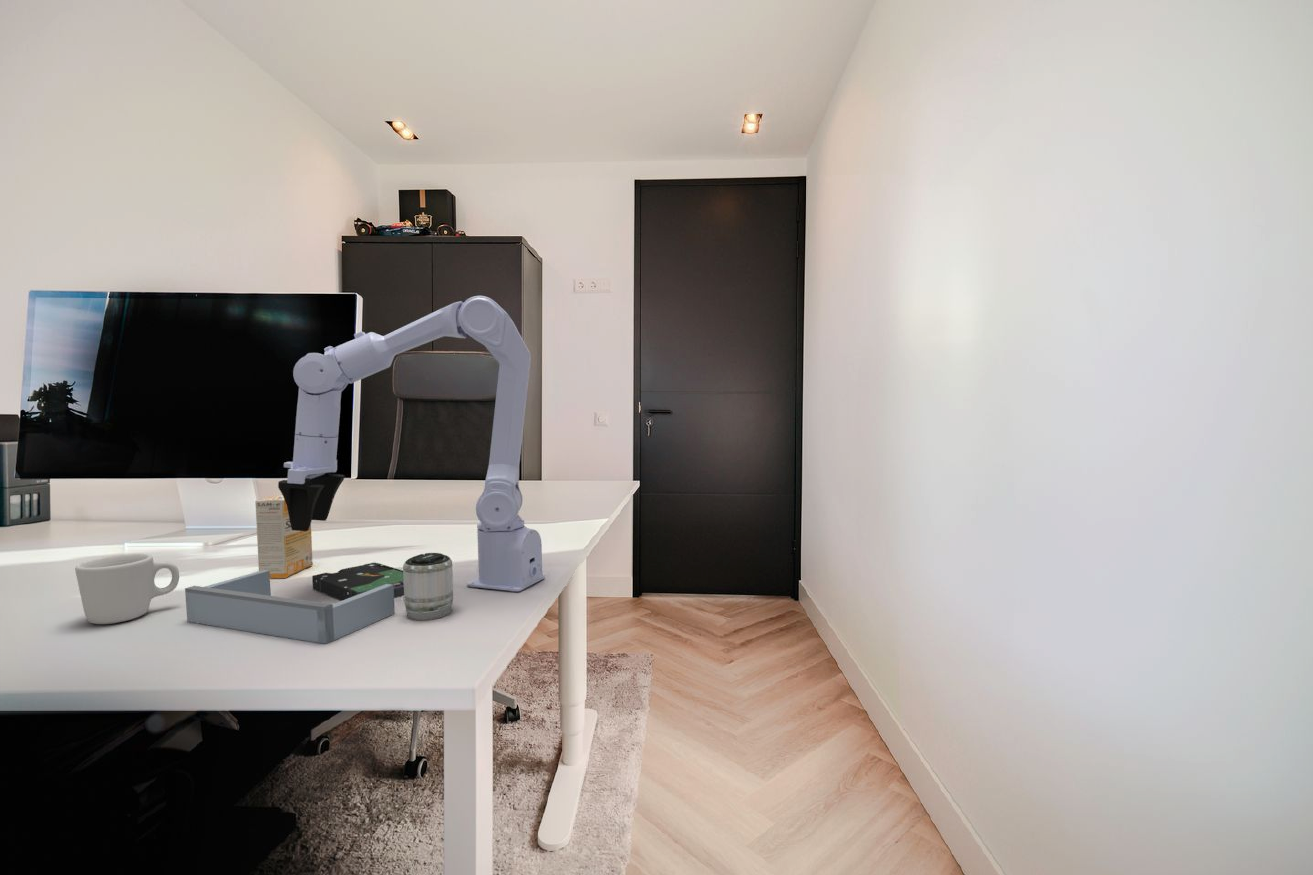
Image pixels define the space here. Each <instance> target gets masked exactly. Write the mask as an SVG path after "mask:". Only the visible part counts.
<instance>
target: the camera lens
mask: <svg viewBox="0 0 1313 875" xmlns="http://www.w3.org/2000/svg"><path fill="white" fill-rule="evenodd" d="M402 571H403V579H404V597H403V599H404V601H403V602H404V607H405V611H406V613H407V617H408V618H409V619H411V620H416V621H428V620H435V619H439V618H443V617H445V616H447V615H449V614H450V613H451V612H452V606H453V604H454V603H453V602H454V601H453V600H454V584H453V583H454V581H453V580H454V578H453V575H454V574H453V560H452V559H451V558H450V556H449V555H446V554H443V553H440V552H425V553H420V554H418V555H415V556H412V557H410V558H408V559H406V561H404V563H403V565H402Z"/></svg>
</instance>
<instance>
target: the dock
mask: <svg viewBox="0 0 1313 875" xmlns="http://www.w3.org/2000/svg"><path fill="white" fill-rule="evenodd" d="M184 591H185V592H184V594H185V608H186V609H185V610H186V622H187V621H191V622H190V623H193V622H196V623H195V624H199V623H202V624H201V625H205V624H206V626H207V625H208V626H214V627H218V628H225V629H231V630H237V631H243V632H250V633H256V634H262V635H268V636H275V637H280V638H286V639H287V638H288V639H293V640H297V641H299V640H300V641H304V642H305V641H306V642H311V643H317V644H322V645H328V644H329V643H332V642H334V641H336V640H338V639H340V638H344V637H346V636H348V635H349V634H352V633H354V632H357V631H359V630H361V629H363V628H366V627H368V626H369V625H373V624H374V623H377V622H379V621H381V620H384V619H387V618H388V617H390V616H392V615H395V612H396V610H395V608H396V607H395V598H394V585H392V584H385V585H382V586H380V587H377V588H374V589H372V590H369V591H366V592H364V593H361V594H358V595H356V596H353V597H351V598H348V599H345V600H343V601H341V600H339V601H337V602H335V603H328V602H320V601H313V600H305V599H298V598H289V597H283V596H282V597H281V596H276V595H275V596H273V595H272V592H271V591H272V590H271V578H270V571H268V570H262V571H259V570H258V571H255V572H252V573H248V574H244V575H241V576H238V577H234V578H230V579H225V580H224V581H220V582H217V583H213V584H209V585H205V586H201V585H200V586H198V585H193V586H188V587H186V588H184ZM197 622H198V623H197Z"/></svg>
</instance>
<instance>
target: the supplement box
mask: <svg viewBox="0 0 1313 875" xmlns="http://www.w3.org/2000/svg"><path fill="white" fill-rule="evenodd" d="M255 519H256V539H257V559H258V571H262V570H268V571H270V579H286V578H288V577H290V576H292V575H295V574H297V573H298V572H301V571H302V570H305V569H307V568H309V567H312V566H313V549H312V548H313V542H312V541H313V540H312V539H313V537H312V524H311V525H310V527H309V530H308V531H296V530H292V529H291V525H290V520H289V514H288V509H287V505H286V502H285V499H284V497H283V495H282V494H280V495H275V496H271V497H267V498H263V499H257V500H255Z"/></svg>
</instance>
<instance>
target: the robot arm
mask: <svg viewBox="0 0 1313 875" xmlns="http://www.w3.org/2000/svg"><path fill="white" fill-rule="evenodd" d="M467 335H468V336H469V337H470V338H472V339H474V340H475V341H476V342H478V343H479V344H481V345H483V346H485V348H486V350H487V352H489V353H490V354H491V356H492V357H493V358H494V359H495V360H496V361H497V363H498V366H499V367H498V374H497V386H496V395H495V403H494V406H495V407H494V413H493V423H492V431H491V433H492V434H491V440H490V441H491V442H490V449H489V460H488V466H487V471H486V472H487V473H486V476H485V481H484V488H483V491H482V493H481V494H480V496H479V498H478V499H477V501H476V505H475V514H476V517H477V519H478V520H479V522H478V524H477V525H476V530H477V531H476V532H477V534H476V535H477V557H478V559H477V560H478V561H477V562H478V577H477V578H475V579H473V580H471V581H469V582H467V583H466V587H471V588H480V589H490V590H497V591H498V590H499V591H509V592H521V591H523V590H525V589H526V588H528V587H530V586H533V585H534V584H536V583H538V582H540V581H542V580H544V579H545V578H546V575H545V574H543V553H542V552H543V551H542V550H543V549H542V546H543V545H542V538H541V535H540V533H539V531H538V530H536V529H532V528H528V527H527V526H526V525H525V520H524V519H523V518H522V517H521V516H520V515H519V513H520V510H521V508H522V505H523V500H524V499H523V494H522V491H521V488H520V484H519V482H520V462H521V453H522V443H523V435H524V434H523V433H524V425H525V417H526V416H525V415H526V407H527V399H528V398H527V397H528V391H529V390H528V389H529V388H528V387H529V379H530V370H531V369H530V368H531V361H532V358H531V357H532V356H531V352H530V350H529V349H528V347H527V345H526V343H525V341H524V339H523V338H522V336H521V334H520V332H519V331H518V328H517V326H516V325H515V322H514V321H513V320H512V318H511V316H510V315H509V313H507V311H505V309H504V308H502V307H501V305H499V304H498V303H497V302H496V301H495V300H494V299H492V298H490V297H488V296H484V295H475V296H471V297H469V298H467V299H465V301H464V302H463V301H461V300H460V301H456V302H453V303H450V304H449V305H446V306H444V307H441V308H439V309H438V310H436V311H434V312H431V313H428V314H427V315H425V316H423V317H420V318H419V319H417V320H414V321H412V322H410V323H408V324H406V325H404V326H402V327H400V328H398V329H396V330H393V331H392V332H390V333H387V334H385V335H381V334H378V333H376V332H373V331H370V332H367V333H366V332H364V331H359V332H357V333H354V334H353V336H354V339H352V340H349V341H346V342H344V343H342V344H339V345H337V346H335V347H333V346H331V345H329V346H327V347H325V348H324V349H323V350H324V354H322V353H319V352H308V353H307V354H306V355H304V356H302V357H301V358H300V359H298V361H297V362H296V363H295V365H294V367H293V370H292V373H293V374H292V376H293V380H294V382H295V383H296V385H297V386H298V395H297V396H298V397H297V405H296V416H295V428H294V429H295V430H294V443H293V444H294V445H293V457H292V461H286V462H284V463H283V468H287V479H283V480H279V481H278V483H277V484H278V485H277V486H278V487H277V488H278V490H279V491H280V493H281V495H283V497H284V499H285V502H286V505H287V509H288V514H289V520H290V525H291V529H292V530H296V531H308V530H309V527H310V525H311V526H312V521H321V522H325V521H327V519H328V517H329V513H330V511H331V507H332V504H333V501H334V498H335V496H336V494H337V491H338V489H339V488H340V486H341V484H342V483H343V482H344V480H345V474H340V473H339V474H338V473H337V471H338V459H337V455H338V453H337V452H338V444H339V432H340V431H339V430H340V428H339V427H340V418H341V416H340V415H341V399H342V392H343V391H344V390H345V389H346V387H347V386H348V385H349V384H354V383H356V382H358V381H361V380H363V379H365V378H367V377H369V376H372V375H374V374H377V373H379V372H381V371H384V370H387V369H388V368H391V366H392V363H393V361H394V358H395V356H396V355H399V354H402V353H404V352H407V351H409V350H412V349H415V348H418V347H420V346H422V345H424V344H428V343H430V342H433V341H435V340H438V339H440V338H443V337H444V338H445V337H451V338H457V339H467Z"/></svg>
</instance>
